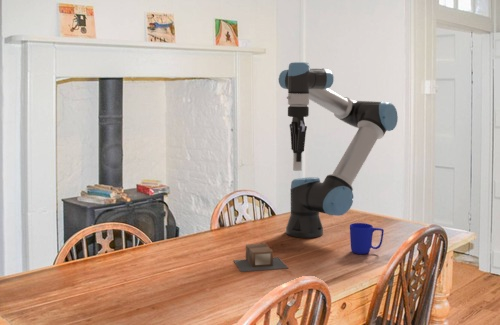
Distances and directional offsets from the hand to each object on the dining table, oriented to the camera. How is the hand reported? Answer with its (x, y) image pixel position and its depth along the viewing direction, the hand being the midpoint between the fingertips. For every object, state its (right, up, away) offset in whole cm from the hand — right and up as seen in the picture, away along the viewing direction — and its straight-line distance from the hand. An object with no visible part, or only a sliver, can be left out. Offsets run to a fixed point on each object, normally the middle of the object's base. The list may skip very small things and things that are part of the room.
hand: (297, 170), depth 211 cm
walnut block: (-15, -28, -10) cm, 33 cm away
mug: (+25, -30, -1) cm, 39 cm away
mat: (-14, -32, -16) cm, 38 cm away
